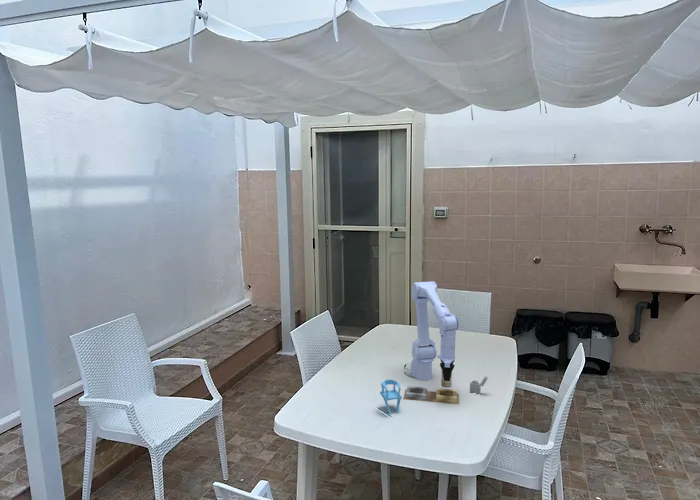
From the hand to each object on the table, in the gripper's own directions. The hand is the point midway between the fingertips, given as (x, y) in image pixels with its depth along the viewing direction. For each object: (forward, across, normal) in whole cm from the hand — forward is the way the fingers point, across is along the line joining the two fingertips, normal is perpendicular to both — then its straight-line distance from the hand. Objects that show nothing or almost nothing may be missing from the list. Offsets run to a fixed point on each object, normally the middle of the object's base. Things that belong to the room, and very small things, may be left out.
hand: (446, 378), depth 201 cm
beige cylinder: (+3, 0, 0) cm, 3 cm away
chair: (+9, +15, -21) cm, 27 cm away
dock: (+9, 0, -6) cm, 11 cm away
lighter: (+9, -9, +13) cm, 19 cm away
